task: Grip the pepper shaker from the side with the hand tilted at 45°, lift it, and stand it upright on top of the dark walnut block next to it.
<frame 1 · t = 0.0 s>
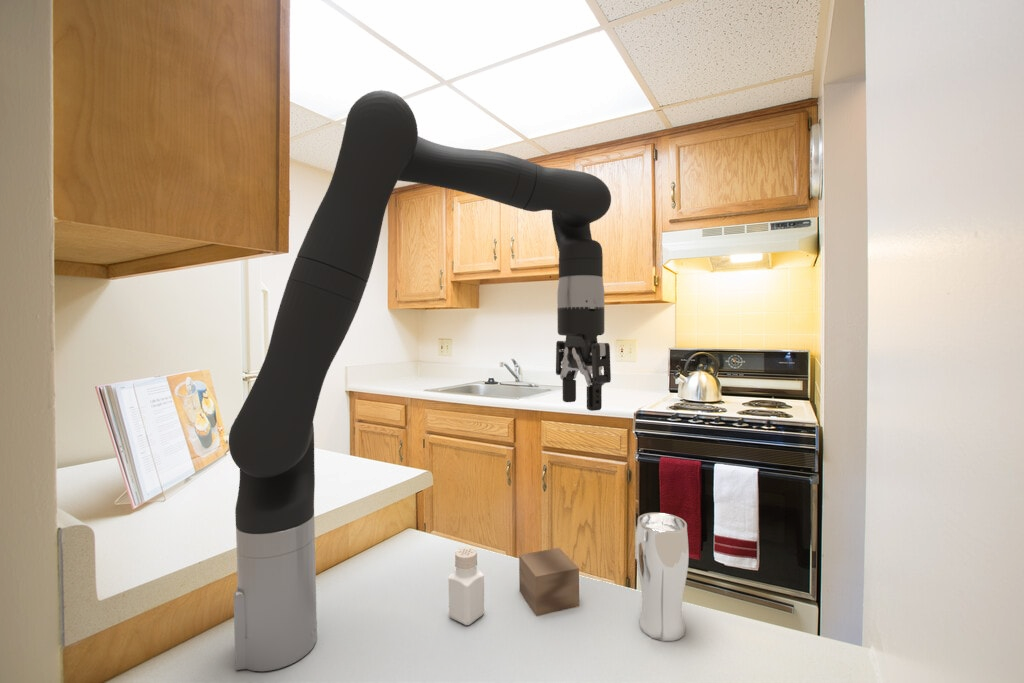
hand: (581, 405, 77), 29 cm above the counter, tool pointing down, fingers open, 8 cm apart
walnut block: (548, 599, 74), on the counter
pepper shaker: (466, 617, 69), on the counter
beer glass: (661, 628, 66), on the counter
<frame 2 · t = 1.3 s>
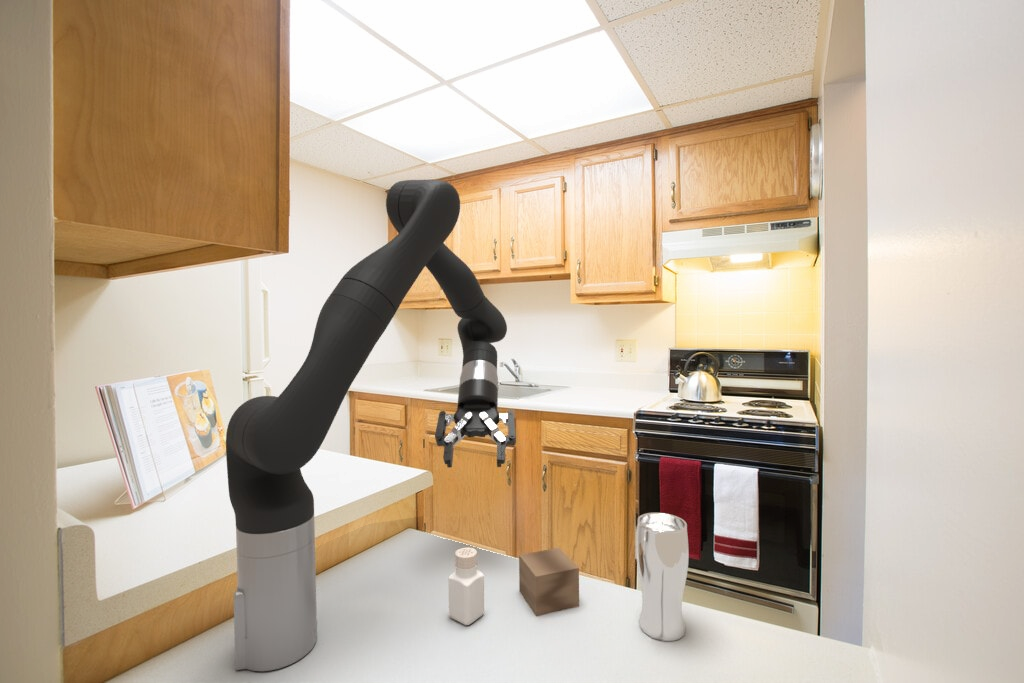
hand: (474, 465, 81), 19 cm above the counter, tool tilted 45°, fingers open, 8 cm apart
nothing on the counter moved.
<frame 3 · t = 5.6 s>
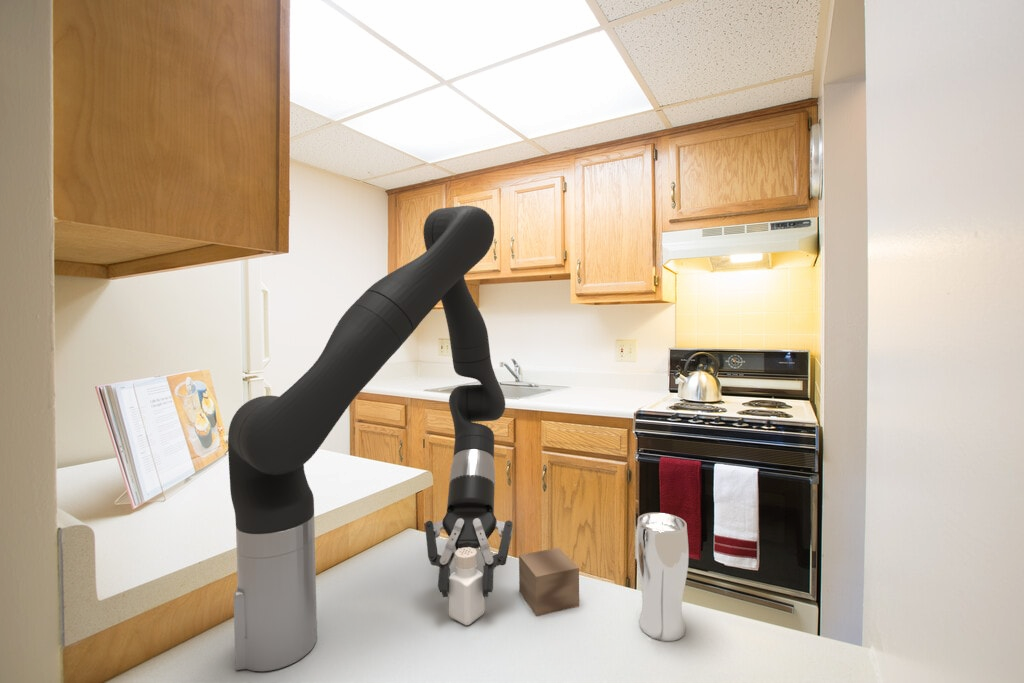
hand: (465, 594, 67), 4 cm above the counter, tool tilted 45°, fingers closed on pepper shaker, 5 cm apart
pepper shaker: (466, 617, 69), on the counter, touching gripper
everything else where it was.
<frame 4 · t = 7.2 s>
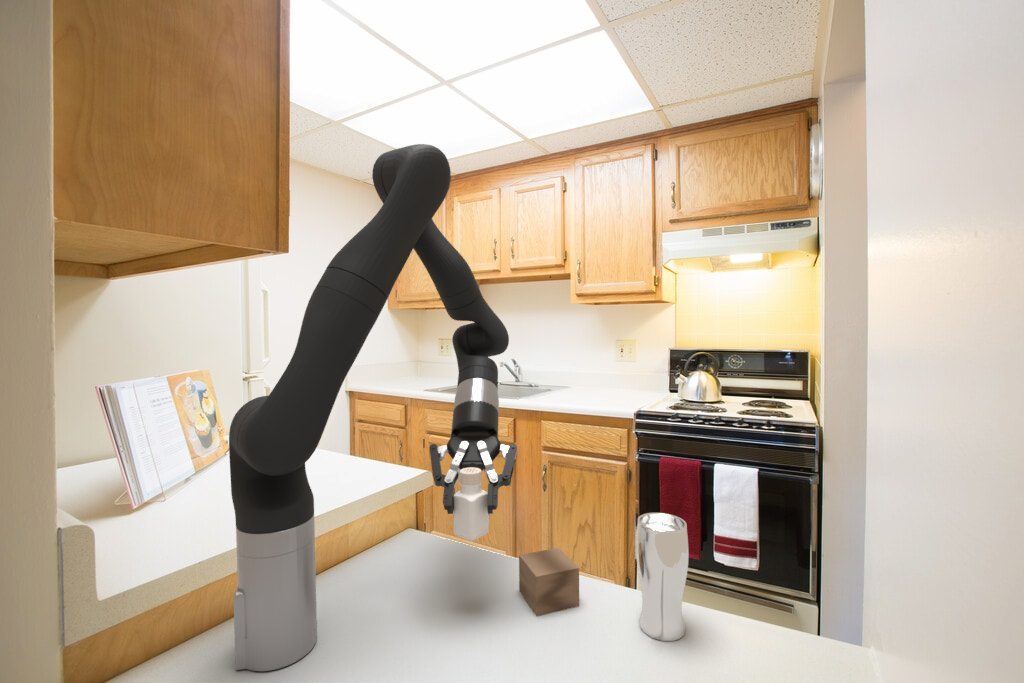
hand: (470, 511, 67), 16 cm above the counter, tool tilted 45°, fingers closed on pepper shaker, 5 cm apart
pepper shaker: (471, 535, 69), point 12 cm above the counter, touching gripper
everything else where it was.
when the fingers open (11 cm above the counter, at t = 9.2 s): pepper shaker drops 1 cm, resting on walnut block.
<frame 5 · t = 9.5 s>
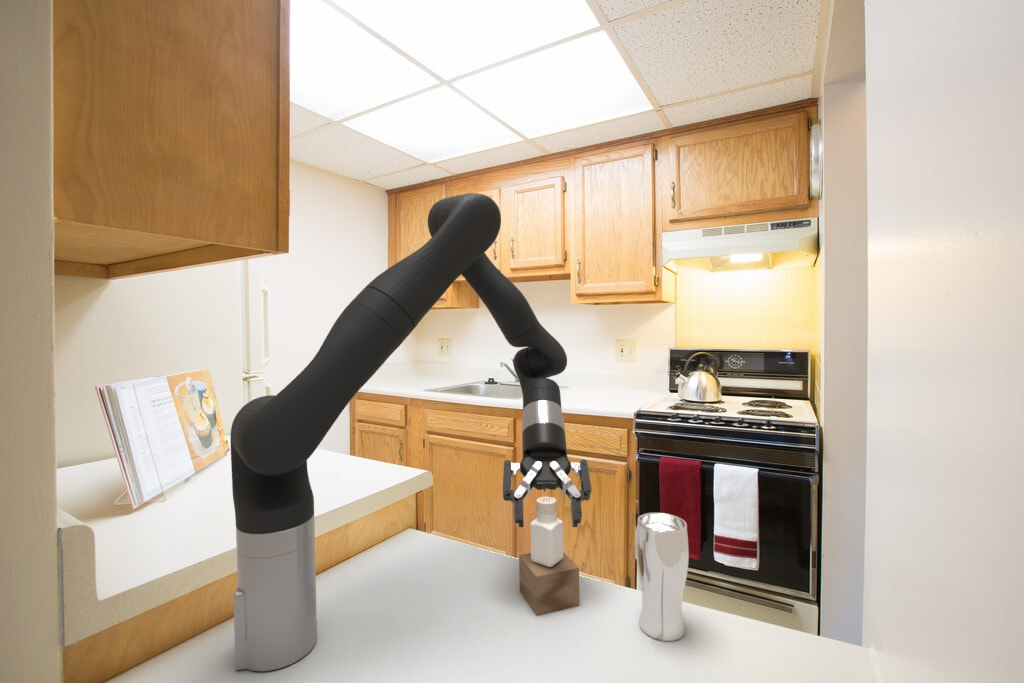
hand: (548, 525, 72), 12 cm above the counter, tool tilted 45°, fingers open, 8 cm apart
walnut block: (548, 599, 74), on the counter, touching pepper shaker
pepper shaker: (547, 561, 74), point 6 cm above the counter, touching walnut block
everything else where it was.
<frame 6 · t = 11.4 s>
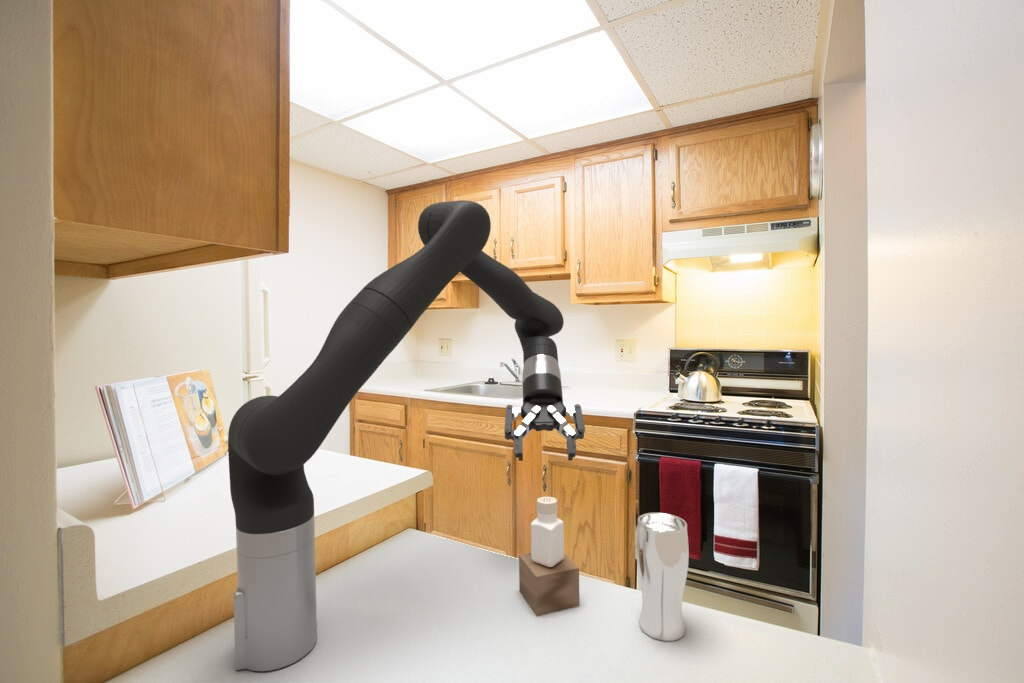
hand: (545, 458, 81), 20 cm above the counter, tool tilted 45°, fingers open, 8 cm apart
nothing on the counter moved.
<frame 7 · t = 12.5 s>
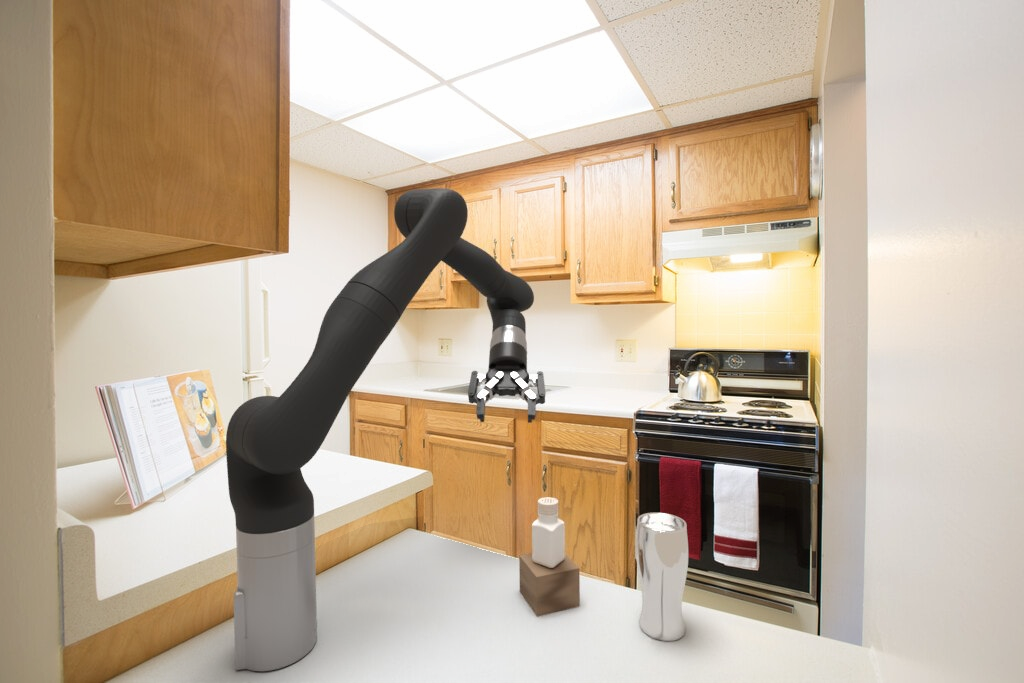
hand: (506, 419, 84), 26 cm above the counter, tool tilted 45°, fingers open, 8 cm apart
walnut block: (548, 599, 74), on the counter
pepper shaker: (548, 562, 73), point 6 cm above the counter
everything else where it was.
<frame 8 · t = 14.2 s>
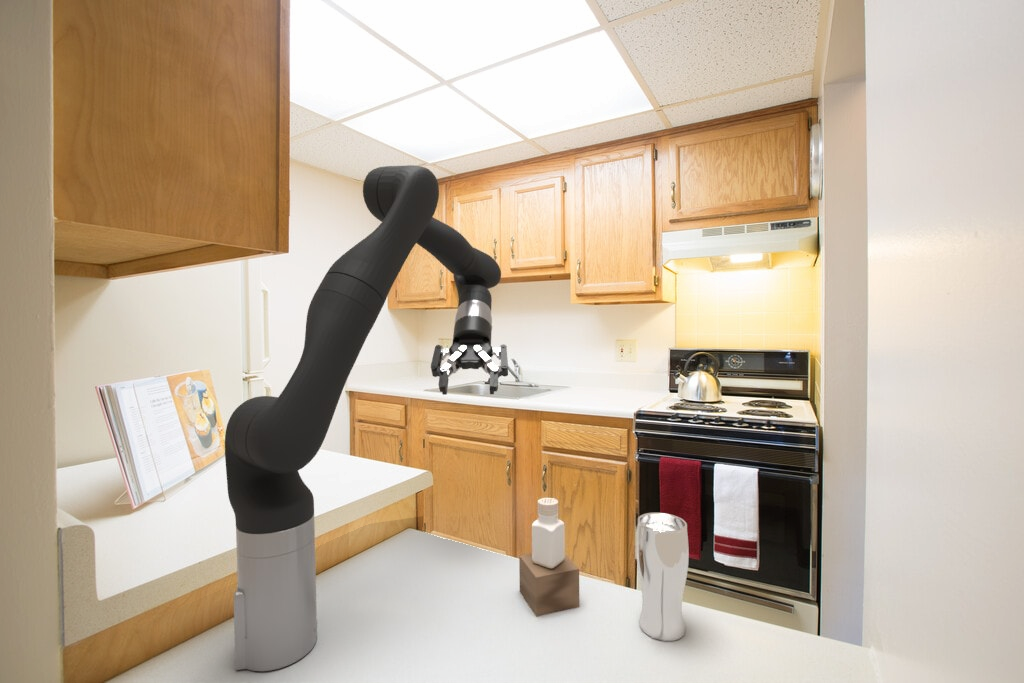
hand: (468, 391, 85), 31 cm above the counter, tool tilted 45°, fingers open, 8 cm apart
walnut block: (548, 600, 73), on the counter, touching pepper shaker
pepper shaker: (548, 563, 73), point 6 cm above the counter, touching walnut block
everything else where it was.
at the end: pepper shaker 0.0 cm off-centre on the walnut block, point 5.8 cm above the walnut block's base; pepper shaker tilted 1°; the gripper is holding nothing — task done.
